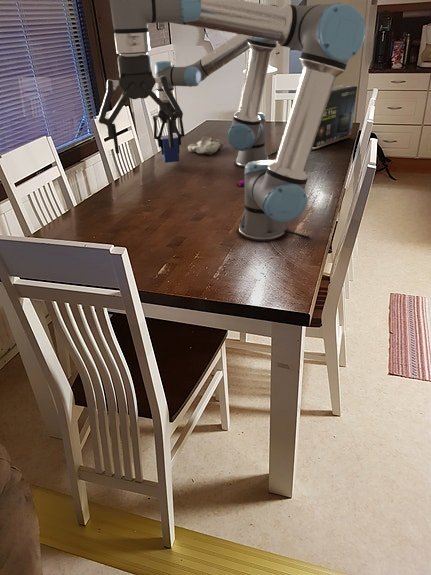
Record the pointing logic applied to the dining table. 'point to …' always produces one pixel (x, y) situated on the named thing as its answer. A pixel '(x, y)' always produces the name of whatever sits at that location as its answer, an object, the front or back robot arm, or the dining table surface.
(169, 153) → the block
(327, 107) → the router box
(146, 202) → the dining table surface
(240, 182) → the handgun
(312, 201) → the dining table surface
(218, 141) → the fossil
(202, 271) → the dining table surface
